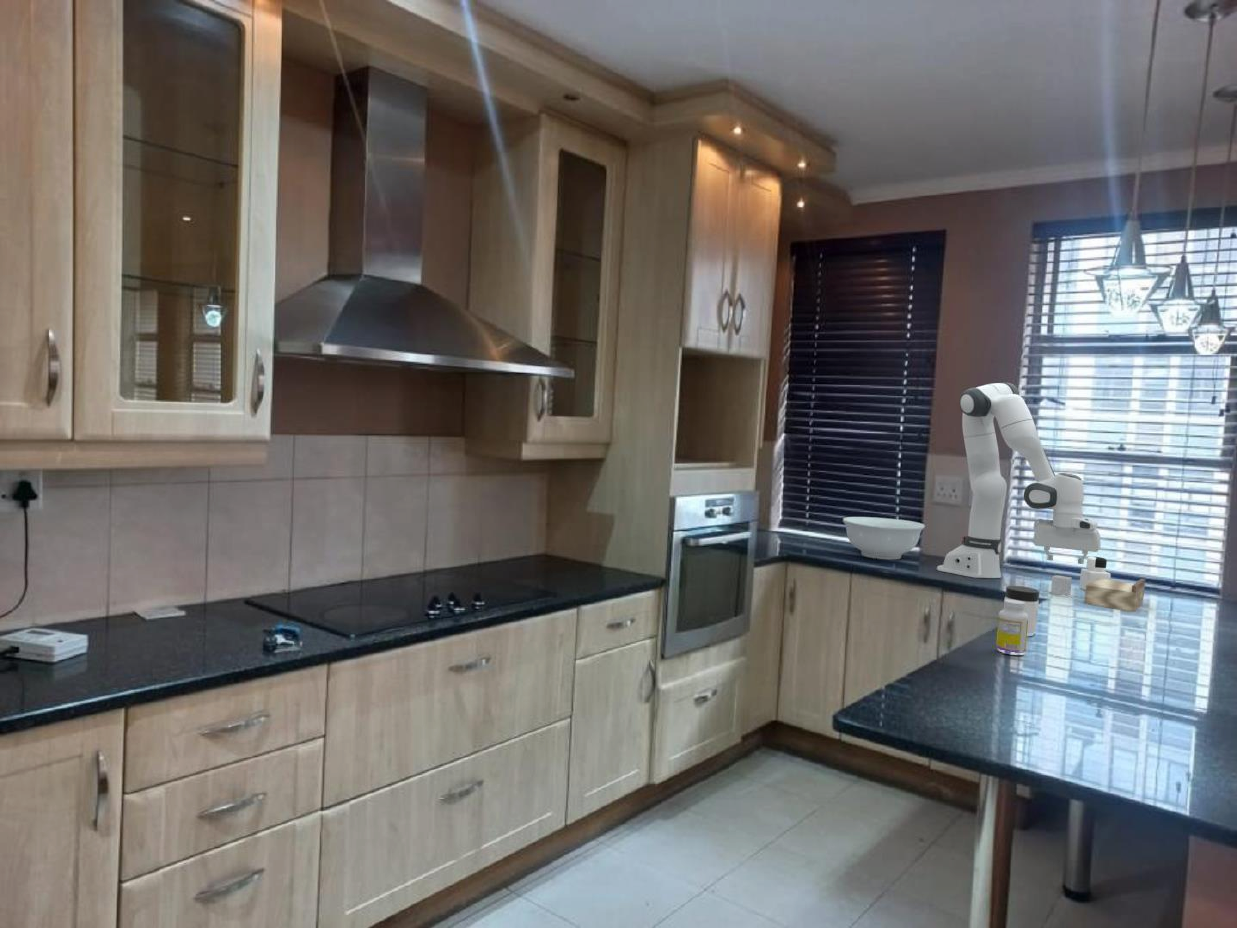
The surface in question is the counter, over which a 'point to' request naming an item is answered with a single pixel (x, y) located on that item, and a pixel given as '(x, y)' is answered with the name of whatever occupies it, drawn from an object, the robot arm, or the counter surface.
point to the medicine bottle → (1093, 571)
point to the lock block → (1061, 585)
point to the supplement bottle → (1012, 627)
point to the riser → (1115, 594)
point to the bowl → (882, 536)
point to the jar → (1026, 603)
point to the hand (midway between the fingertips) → (1065, 561)
